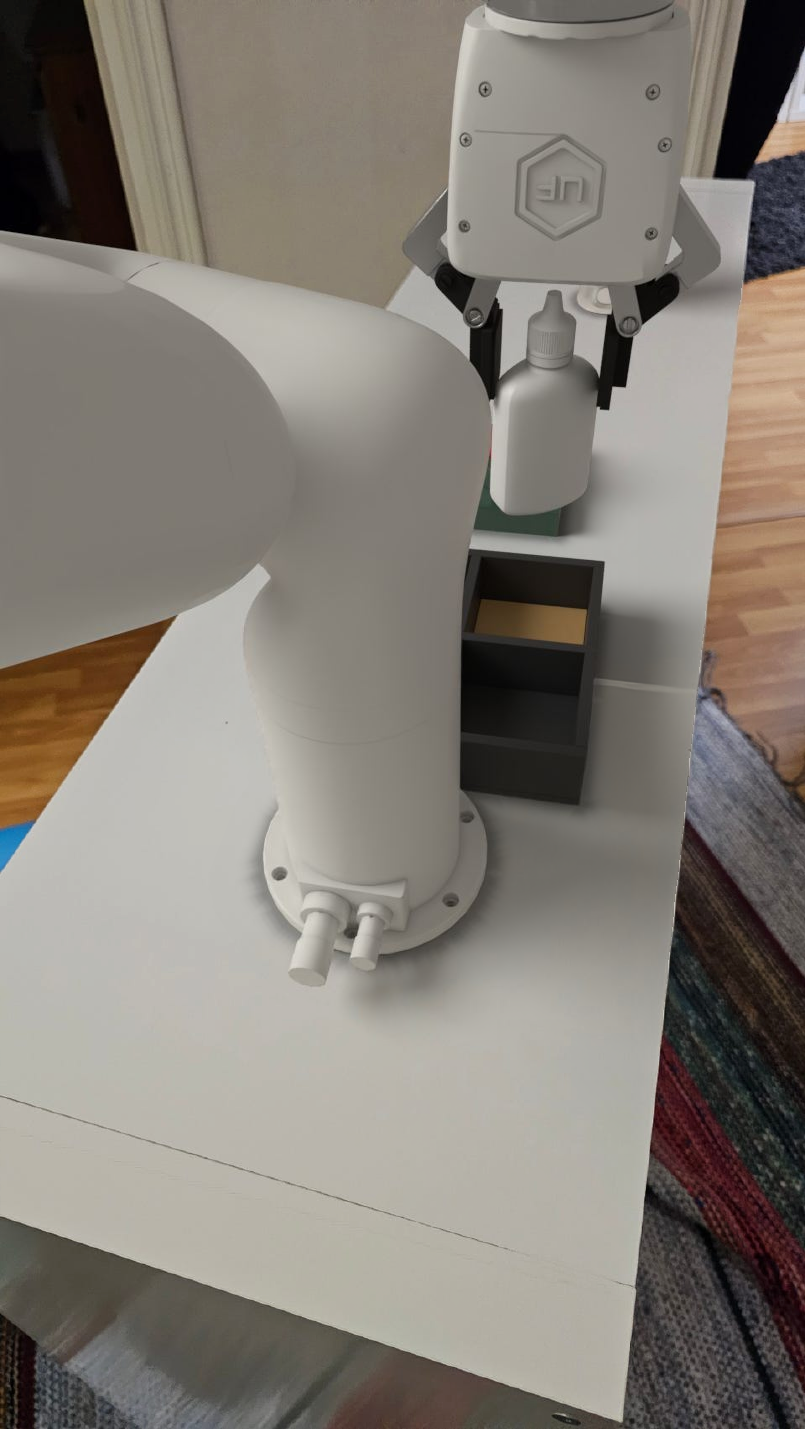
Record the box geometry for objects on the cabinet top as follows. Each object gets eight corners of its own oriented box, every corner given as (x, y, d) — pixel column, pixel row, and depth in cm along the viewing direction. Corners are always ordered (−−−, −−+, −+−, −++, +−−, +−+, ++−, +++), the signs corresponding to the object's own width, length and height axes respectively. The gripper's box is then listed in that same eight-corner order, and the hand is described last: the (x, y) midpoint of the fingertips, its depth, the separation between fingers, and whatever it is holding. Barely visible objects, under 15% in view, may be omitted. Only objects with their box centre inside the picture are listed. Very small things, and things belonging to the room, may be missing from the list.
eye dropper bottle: (492, 473, 58) (499, 273, 49) (586, 476, 57) (610, 274, 48) (488, 517, 55) (495, 312, 46) (587, 521, 54) (613, 314, 45)
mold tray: (578, 806, 56) (587, 756, 53) (299, 768, 59) (289, 719, 56) (597, 611, 67) (605, 560, 64) (361, 587, 70) (356, 537, 67)
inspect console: (557, 537, 73) (561, 493, 70) (440, 527, 75) (440, 483, 72) (568, 456, 80) (573, 413, 77) (462, 448, 82) (462, 405, 79)
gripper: (347, -6, 37) (375, 419, 50) (817, -5, 34) (713, 444, 47) (387, -48, 42) (402, 349, 55) (800, -50, 39) (710, 368, 52)
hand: (546, 389), depth 51 cm, fingers closed on eye dropper bottle, 5 cm apart
